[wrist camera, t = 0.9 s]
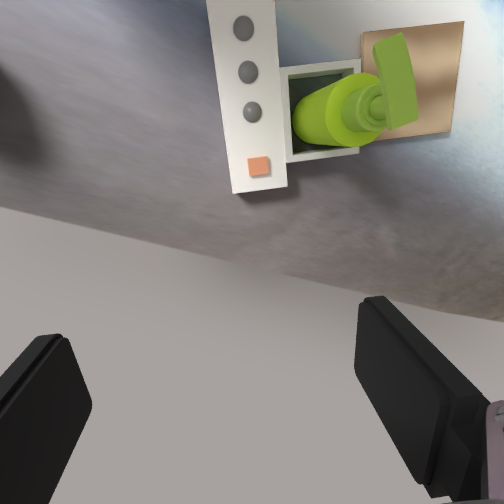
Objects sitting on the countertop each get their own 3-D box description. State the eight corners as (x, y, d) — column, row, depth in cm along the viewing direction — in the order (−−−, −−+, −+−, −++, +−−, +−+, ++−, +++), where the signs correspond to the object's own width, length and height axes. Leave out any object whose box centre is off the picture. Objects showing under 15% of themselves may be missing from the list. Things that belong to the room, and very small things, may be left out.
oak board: (360, 34, 35) (364, 32, 34) (458, 23, 35) (464, 21, 34) (358, 142, 39) (361, 142, 38) (444, 131, 40) (450, 131, 39)
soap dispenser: (327, 76, 36) (438, 14, 18) (342, 133, 39) (452, 130, 20) (283, 95, 36) (346, 54, 18) (300, 150, 39) (371, 164, 21)
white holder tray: (206, 8, 33) (205, -6, 29) (348, -7, 33) (363, -22, 30) (232, 189, 40) (233, 194, 37) (347, 174, 41) (359, 177, 37)
